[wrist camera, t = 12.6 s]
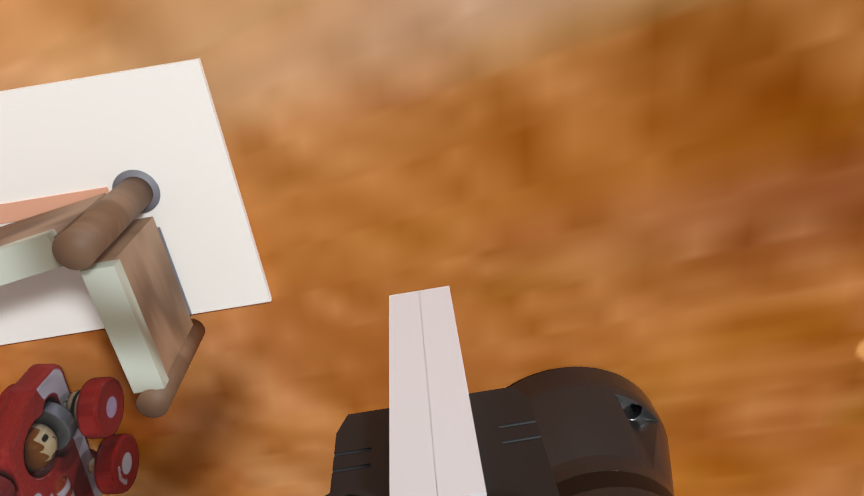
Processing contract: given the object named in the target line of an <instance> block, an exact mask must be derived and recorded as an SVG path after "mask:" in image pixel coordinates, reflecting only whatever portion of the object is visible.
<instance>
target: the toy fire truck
mask: <svg viewBox="0 0 864 496" xmlns="http://www.w3.org/2000/svg"><path fill="white" fill-rule="evenodd" d="M123 410H124V395H123V391H122V388H121V385H120V383H119V382H118V381H117V380H116V379H115V378H112V377H100V378H93V379H90V380H88V381H87V382H86V383H85V384H84V386H83V387H82V389H81V390H79V391H75V392H73V393H70V391H69V388H68V385H67V383H66V380H65V377H64V374H63V371H62V369H61V367H60V366H59V365H56V364H36V365H33V366H32V367H30V368H29V369H28V371H27V372H26V373H25V374H24V375H23V376H22V377H21V378H20V380H19V381H18V382H17V383H15V384H12V385H10V386H8V387H7V388H6V389H5V390H4V391H3V392H2V394H1V395H0V496H101V494H102V493H103V494H119V493H124V492H126V491H128V490H129V489H130V488H131V486H132V485H133V483H134V481H135V478H136V475H137V471H138V465H139V453H138V447H137V444H136V442H135V440H134V438H133V437H132V436H131V435H128V434H119V435H113V434H114V433H115V432H116V430H117V429H118V427H119V425H120V422H121V420H122V416H123ZM86 438H90V439H95V438H105V439H104V440H103V441H102V442H101V444H100V446H99V448H98V451H97V454H96V452H95V451H93V450H90V448H89V445H88V443H87V440H86Z"/></svg>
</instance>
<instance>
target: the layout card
mask: <svg viewBox="0 0 864 496" xmlns="http://www.w3.org/2000/svg"><path fill="white" fill-rule="evenodd" d="M128 177H139V178H142V179H144V180H145V181H146V182H148V183H149V185H150V186H151V188H152V190H153V199H152V201H151V202H150V203H149V204H148V206H147V207H146V208H145V209H144V210H143V211H142V212H141V213H140V214H139V215H138V216H137V217H136V218H135V219H140V218H146V217H152V216H153V218H154V220H155V223H156V226H157V228H158V231H159V234H160V237H161V239H162V242H163V245H164V247H165V250H166V253H167V255H168V258H169V261H170V264H171V266H172V269H173V272H174V274H175V277H176V280H177V282H178V285H179V288H180V291H181V293H182V296H183V299H184V301H185V304H186V307H187V310H188V312H189V315H192V314H197V313H203V312H209V311H215V310H221V309H227V308H234V307H240V306H246V305H252V304H258V303H265V302H271V300H272V297H271V294H270V290H269V287H268V284H267V280H266V277H265V274H264V270H263V267H262V263H261V260H260V257H259V253H258V250H257V247H256V243H255V240H254V237H253V233H252V230H251V227H250V223H249V220H248V217H247V213H246V210H245V207H244V203H243V200H242V197H241V193H240V190H239V187H238V183H237V180H236V177H235V173H234V170H233V167H232V163H231V160H230V157H229V153H228V150H227V147H226V143H225V140H224V137H223V133H222V130H221V127H220V123H219V120H218V117H217V113H216V110H215V107H214V103H213V100H212V97H211V93H210V90H209V87H208V83H207V80H206V77H205V73H204V70H203V67H202V63H201V60H200V58H198V59H192V60H186V61H180V62H174V63H168V64H162V65H155V66H149V67H143V68H137V69H131V70H125V71H119V72H113V73H107V74H101V75H95V76H89V77H83V78H77V79H70V80H64V81H58V82H52V83H46V84H40V85H34V86H28V87H22V88H16V89H10V90H4V91H0V227H1V226H5V225H8V224H11V223H14V222H17V221H20V220H23V219H26V218H29V217H32V216H35V215H38V214H42V213H45V212H48V211H51V210H54V209H57V208H60V207H63V206H66V205H69V204H72V203H75V202H79V201H82V200H85V199H88V198H91V197H94V196H97V195H100V194H103V193H106V194H108V193H109V192H110V191H111V190H112V189H113V188H115V187H116V186H117V185H118V184H119V183H120V182H122V181H123V180H124V179H125V178H128ZM80 271H81V270H71V269H68V268H66V267H64V266H62V267H58V268H55V269H52V270H49V271H46V272H43V273H39V274H36V275H33V276H30V277H27V278H24V279H20V280H17V281H14V282H11V283H8V284H5V285H2V286H0V345H5V344H11V343H17V342H23V341H29V340H36V339H42V338H48V337H54V336H60V335H67V334H73V333H79V332H85V331H91V330H98V329H104V328H105V327H104V325H103V323H102V321H101V318H100V316H99V314H98V312H97V309H96V307H95V305H94V303H93V300H92V298H91V296H90V294H89V291H88V289H87V287H86V284H85V282H84V280H83V278H82V275H81V273H80Z"/></svg>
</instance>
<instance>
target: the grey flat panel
mask: <svg viewBox="0 0 864 496" xmlns="http://www.w3.org/2000/svg"><path fill="white" fill-rule="evenodd" d="M105 195H106V193H103V194H100V195H97V196H94V197H91V198H88V199H85V200H82V201H79V202H75V203H72V204H69V205H66V206H63V207H60V208H57V209H54V210H51V211H48V212H45V213H42V214H38V215H35V216H32V217H29V218H26V219H23V220H20V221H17V222H14V223H11V224H8V225H5V226H1V227H0V286H2V285H5V284H8V283H11V282H14V281H17V280H20V279H24V278H27V277H30V276H33V275H36V274H39V273H43V272H46V271H49V270H52V269H55V268H58V267H62V265H61V264H60V263H59V262H58V261H57V260H56V259H55V258H54V256H53V253H52V243H53V241H54V240H55V239H56V238H57V237H58V236H59V235H60V234H61V233H62V232H64V231H65V230H66V229H67V228H68V227H69V226H71V225H72V224H73V223H74V222H75V221H76V220H77V219H79V218H80V217H81V216H82V215H83V214H84V213H86V212H87V211H88V210H89V209H90V208H91V207H93V206H94V205H95V204H96V203H97V202H98V201H100V200H101V199H102V198H103V197H104V196H105Z"/></svg>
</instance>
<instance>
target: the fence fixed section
mask: <svg viewBox="0 0 864 496" xmlns="http://www.w3.org/2000/svg"><path fill="white" fill-rule="evenodd" d="M152 199H153V190H152V188H151V186H150V185H149V183H148V182H146V181H145V180H144V179H142V178H139V177H128V178H125V179H124V180H123V181H122V182H120V183H119V184H118V185H117V186H116V187H115V188H113V189H112V190H111V191H110V192H109V193H108V194H106V195H105V196H104V197H103V198H102V199H101V200H100V201H98V202H97V203H96V204H95V205H94V206H93V207H91V208H90V209H89V210H88V211H87V212H86V213H84V214H83V215H82V216H81V217H80V218H79V219H77V220H76V221H75V222H74V223H73V224H72V225H71V226H69V227H68V228H67V229H66V230H65V231H64V232H62V233H61V234H60V235H59V236H58V237H57V238H56V239H55V240H54V241H53V243H52V253H53V256H54V258H55V259H56V260H57V261H58V262H59V263H60V264H61V265H62V266H64V267H66V268H68V269H71V270H81V271H80V273H81V275H82V278H83V280H84V282H85V284H86V287H87V289H88V291H89V294H90V296H91V298H92V300H93V303H94V305H95V307H96V309H97V312H98V314H99V316H100V318H101V321H102V323H103V325H104V327H105V330H106V332H107V334H108V336H109V339H110V341H111V343H112V345H113V348H114V350H115V352H116V354H117V357H118V359H119V361H120V363H121V366H122V368H123V370H124V372H125V375H126V377H127V379H128V381H129V384H130V386H131V388H132V391H133V393H139V392H141V393H140V395H139V396H138V398H137V400H136V407H137V409H138V411H139V412H140V413H142V414H143V415H145V416H147V417H152V418H156V417H161V416H163V415H164V414H166V412H167V411H168V409H169V407H170V405H171V402H172V400H173V398H174V396H175V394H176V392H177V390H178V388H179V386H180V384H181V382H182V380H183V377H184V375H185V373H186V371H187V369H188V367H189V365H190V363H191V361H192V359H193V357H194V355H195V353H196V350H197V348H198V346H199V344H200V342H201V340H202V338H203V336H204V334H205V328H204V326H203V324H202V323H201V322H199V321H198V320H195V319H191V318H190V315H189V312H188V310H187V307H186V304H185V301H184V299H183V296H182V293H181V291H180V288H179V285H178V282H177V280H176V277H175V274H174V272H173V269H172V266H171V264H170V261H169V258H168V255H167V253H166V250H165V247H164V245H163V242H162V239H161V237H160V234H159V231H158V228H157V226H156V223H155V220H154V218H153V216H152V217H146V218H140V219H135V218H136V217H137V216H138V215H139V214H140V213H141V212H142V211H143V210H144V209H145V208H146V207H147V206H148V204H149V203H150V202H151V201H152Z"/></svg>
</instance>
